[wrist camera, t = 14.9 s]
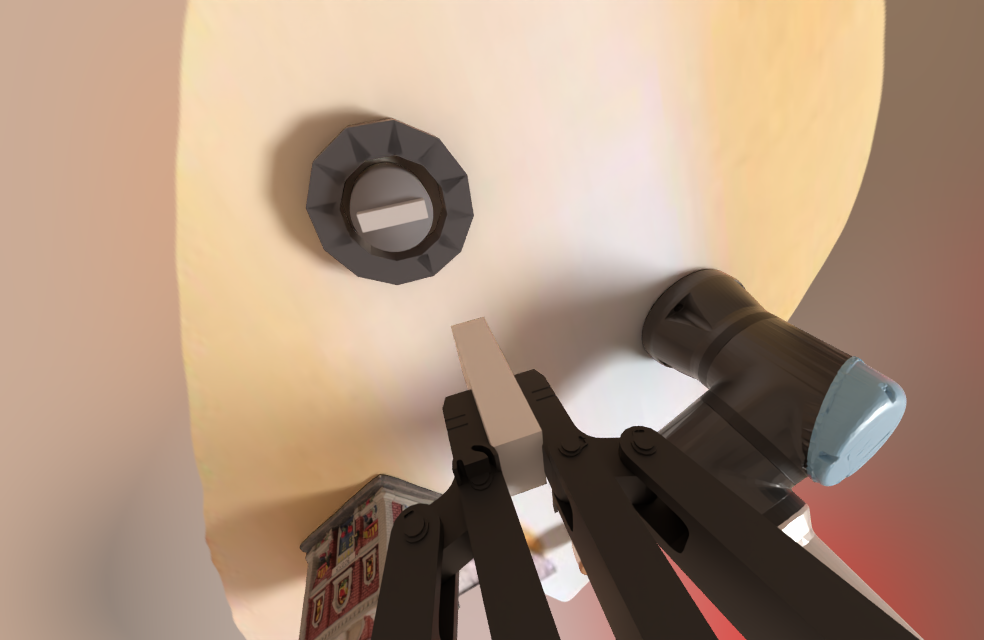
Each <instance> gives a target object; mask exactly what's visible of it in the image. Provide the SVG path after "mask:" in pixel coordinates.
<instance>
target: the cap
mask: <svg viewBox="0 0 984 640" xmlns="http://www.w3.org/2000/svg"><path fill="white" fill-rule="evenodd" d="M350 216H351V220H352V223H353V225H354V228H355V229H356V231H357V233H358V234H359V235H360V236H361V237H362V238H363V239H364V240H365V241H366V242H367V243H369V244H370V245H372V246H373V247H375V248H378V249H380V250H384V251H389V252H400V251H405V250H408V249H411V248H413V247H415V246H416V245H418V244H419V243H420V242H421V241H422V240H423V239H424V238H425V237H426V236H427V234H428V232H429V231H430V228H431V226H432V222H433V206H432V202H431V199H430V197H429V195H428V193H427V191H426V190H425V188H424V187H423V185H422V183H421V182H420V180H419V179H418V178H417V176H416V175H415V174H414V173H413V172H411V171H410V170H409V169H407V168H405V167H403V166H401V165H399V164H395V163H389V162H383V163H377V164H374V165H371V166H369V167H368V168H366V169H365V170H363V171H362V172H361V173H360V174H359V176H358V177H357V179H356V180H355V183H354V185H353V189H352V194H351V200H350Z"/></svg>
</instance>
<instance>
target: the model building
mask: <svg viewBox="0 0 984 640" xmlns="http://www.w3.org/2000/svg"><path fill="white" fill-rule="evenodd" d="M441 496H442V494H439V493H436V492H433V491H431V490H428V489H425V488H422V487H419V486H416V485H414V484H411V483H408V482H406V481H403V480H400V479H397V478H394V477H390V476H386V475H379V476H378V477H376V478H374V479H373V480H372V481H371V482H369V483H368V484H367V485H366V486H365V487H364V488H362V489H361V490H360V491H359V492H358V493H357V494H356V495H354V496H353V497H352V498H351V499H350V500H349V501H347V502H346V503H345V504H344V505H343V506H342V507H341V508H340V509H339V510H338V511H337V512H336V513H335V514H334V515H333V516H332V517H330V518H329V519H328V520H327V521H326V522H324V523H323V524H322V525H321V526H320V527H319V528H318V529H317V530H316V531H315V532H313V533H312V534H311V535H310V536H309V537H308V538H307V539H306V540H305V541H304V542H303V543H302V544H301V546H300V549H301V550H302V551H303V552H306V553H307V554H306V561H307V563H308V569H307V577H306V589H305V595H304V602H303V610H302V618H301V626H300V635H299V640H371V635H372V630H373V624H374V619H375V614H376V608H377V603H378V598H379V592H380V587H381V582H382V576H383V571H384V566H385V560H386V555H387V550H388V544H389V539H390V534H391V530H392V527H393V524H394V521H395V520H396V518H397V517H398V516H399V514H400V513H401V512H402V511H403V510H405V509H406V508H408V507H409V506H411V505H415V504H418V503H423V504H428V505H430V504H431V503H432V502H434V501H435V500H437V499H438V498H439V497H441ZM459 608H460V606H459V601H458V609H459Z"/></svg>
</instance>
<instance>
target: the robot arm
mask: <svg viewBox="0 0 984 640" xmlns="http://www.w3.org/2000/svg"><path fill="white" fill-rule="evenodd" d="M451 328H452V332H453V336H454V340H455V344H456V348H457V352H458V356H459V360H460V364H461V368H462V372H463V375H464V378H465V381H466V384H467V387H468V390H467V391H464V392H461V393H458V394H454V395H451V396H448V397H446V398H445V401H444V405H443V414H444V418H445V422H446V427H447V431H448V436H449V441H450V446H451V450H452V455H453V461H452V470H453V473H454V476H455V477H454V480H453V482H452V485H451V486H450V487H449V489H448V490H447V491H446V492H445V493H444V494H443V495H442V496H441V497H439V498H438V499H437V500H435V501H434V502H432V503H431V504H430V505H428V504H423V503H418V504H415V505H411V506H409V507H408V508H406V509H405V510H403V511H402V512H401V513H400V514H399V516H398V517H397V518H396V520H395V521H394V524H393V527H392V530H391V534H390V539H389V544H388V550H387V555H386V560H385V566H384V571H383V576H382V582H381V587H380V592H379V598H378V603H377V608H376V614H375V619H374V624H373V630H372V635H371V640H457V624H458V593H459V570H460V569H461V568H462V567H464V566H465V565H466V564H467V563H468V562H469V561H471V560H472V559H473V558H474V561H475V566H476V570H477V575H478V579H479V584H480V588H481V593H482V597H483V602H484V607H485V611H486V615H487V620H488V625H489V629H490V634H491V638H492V640H561V639H560V637H559V634H558V631H557V628H556V625H555V622H554V619H553V616H552V614H551V611H550V608H549V605H548V602H547V599H546V596H545V593H544V591H543V588H542V585H541V582H540V579H539V576H538V573H537V571H536V568H535V565H534V562H533V559H532V556H531V553H530V550H529V548H528V545H527V542H526V539H525V536H524V533H523V530H522V527H521V525H520V522H519V519H518V516H517V513H516V510H515V507H514V505H513V502H512V499H511V496H514V495H517V494H519V493H522V492H525V491H528V490H530V489H533V488H536V487H539V486H541V485H544V484H547V481H546V477H547V479H548V481H549V483H550V486H551V488H552V497H553V507H554V511H555V513H556V512H558V511H559V513H560V515H561V518H562V520H563V522H564V524H565V526H566V529H567V531H568V533H569V535H570V538H571V540H572V542H573V544H574V547H575V549H576V551H577V553H578V555H579V558H580V560H581V562H582V564H583V567H584V569H585V571H586V573H587V576H588V578H589V580H590V582H591V585H592V587H593V589H594V591H595V593H596V596H597V598H598V600H599V602H600V604H601V607H602V609H603V611H604V614H605V616H606V618H607V620H608V622H609V625H610V627H611V629H612V631H613V634H614V636H615V638H616V640H718V638H717V637H716V635H715V634H714V632H713V630H712V629H711V627H710V626H709V624H708V623H707V621H706V619H705V618H704V616H703V615H702V613H701V612H700V610H699V608H698V607H697V605H696V604H695V602H694V601H693V599H692V598H691V596H690V594H689V593H688V592H687V590H686V588H685V587H684V585H683V583H682V582H681V580H680V579H679V577H678V576H677V574H676V572H675V571H674V569H673V568H672V566H671V565H670V563H669V561H668V560H667V559H666V557H665V555H664V554H663V552H662V551H661V549H660V547H661V548H662V549H663V550H664V551H665V552H666V553H667V554H668V555H669V556H670V557H671V559H672V560H673V561H674V562H675V563H676V564H677V565H678V566H679V567H680V568H681V570H682V571H683V572H684V573H685V574H686V575H687V576H688V577H689V578H690V579H691V580H692V581H693V582H694V583H695V585H696V586H697V587H698V588H699V589H700V590H701V591H702V592H703V593H704V594H705V595H706V597H707V598H708V599H709V600H710V601H711V602H712V603H713V604H714V605H715V606H716V607H717V608H718V609H719V611H720V612H721V613H722V614H723V615H724V616H725V617H726V618H727V619H728V620H729V621H730V622H731V623H732V625H733V626H734V627H735V628H736V629H737V630H738V631H739V632H740V633H741V634H742V635H743V636H744V637H745V639H747V640H924V639H923V638H922V637H920V635H918V634H917V633H916V632H915V631H914V630H913V629H912V628H911V627H910V626H909V625H908V624H907V623H906V622H905V621H904V620H903V619H902V618H901V617H900V616H899V615H898V614H897V613H896V612H895V611H894V610H893V609H892V608H891V607H890V606H889V605H887V604H886V603H885V602H884V601H883V600H882V599H881V598H880V597H879V596H878V595H877V594H876V593H875V592H874V591H873V590H872V589H871V588H870V587H869V586H868V585H867V584H866V583H865V582H864V581H863V580H862V579H861V578H860V577H859V576H858V575H857V574H856V573H855V572H853V571H852V570H851V569H850V568H849V567H848V566H847V565H846V564H845V563H844V562H843V561H842V560H841V559H840V558H839V557H838V556H837V555H836V554H835V553H834V552H833V551H832V550H831V549H830V548H829V547H828V546H827V545H825V543H824V542H823V541H821V540H820V539H819V538H818V537H817V536H816V534H815V533H814V531H813V529H812V526H811V519H810V510H809V506H808V505H807V504H806V503H805V502H804V501H803V500H802V499H800V498H799V497H798V496H797V495H796V494H795V493H794V492H793V491H792V489H791V488H792V487H794V486H795V485H796V484H797V483H799V482H800V481H801V480H803V479H804V478H806V477H808V476H809V477H810V479H812V480H813V481H814V482H818V483H820V484H821V485H824V486H832V485H835V484H838V483H840V481H842V480H843V479H844V478H845V477H849V476H850V475H852V474H853V473H854V472H856V471H857V470H858V469H859V468H860V467H861V466H863V465H864V464H865V463H866V462H867V461H868V460H869V459H870V458H871V457H872V456H873V455H874V454H875V453H876V452H877V451H878V450H879V449H880V447H881V446H882V445H883V444H884V443H885V442H886V440H887V439H888V438H889V437H890V435H891V434H892V433H893V431H894V430H895V428H896V427H897V425H898V424H899V422H900V420H901V418H902V416H903V413H904V411H905V407H906V396H905V393H904V391H903V389H902V388H901V387H900V386H899V385H898V384H897V383H896V382H894V381H893V380H891V379H890V378H888V377H886V376H885V375H883V374H881V373H879V372H878V371H876V370H874V369H873V368H871V367H869V366H868V365H866V364H864V362H863V361H862V360H861V359H859V358H858V357H855V356H853V357H852V356H850V355H849V354H847V353H844V352H843V351H841V350H839V349H837V348H835V347H833V346H832V345H830V344H827V343H826V342H824V341H822V340H820V339H818V338H816V337H814V336H813V335H811V334H809V333H807V332H805V331H803V330H801V329H799V328H797V327H795V326H794V325H792V324H790V323H788V322H786V321H784V320H782V319H781V318H779V317H777V316H775V315H773V314H771V313H769V312H768V311H766V310H765V309H764V308H763V307H762V306H761V305H760V304H759V303H758V302H757V301H756V300H755V299H754V298H753V297H752V296H751V295H750V294H749V293H748V292H747V291H746V290H745V288H744V286H743V285H742V284H741V283H740V282H739V281H738V280H737V279H735V278H734V277H732V276H730V275H728V274H726V273H724V272H722V271H719V270H714V269H708V270H701V271H698V272H695V273H692V274H690V275H688V276H686V277H684V278H682V279H681V280H679V281H678V282H676V283H675V284H674V285H672V286H671V287H670V288H669V289H668V290H667V291H666V292H665V293H664V294H663V295H662V296H661V297H660V298H659V299H658V300H657V302H656V303H655V304H654V306H653V307H652V309H651V311H650V312H649V314H648V316H647V318H646V321H645V324H644V327H643V332H642V342H643V346H644V348H645V350H646V351H647V352H648V353H649V354H650V355H651V356H652V357H653V358H654V359H655V360H656V361H657V362H659V363H660V364H662V365H664V366H666V367H670V368H674V369H675V370H677V371H679V372H681V373H683V374H685V375H688V376H690V377H692V378H694V379H697V380H698V381H700V382H701V383H702V384H703V385H704V386H706V387H707V388H708V389H709V390H708V391H707V392H706V393H704V394H703V395H702V396H701V397H699V398H698V399H697V400H696V401H695V402H693V403H692V404H691V405H690V406H689V407H688V408H686V409H685V410H684V411H683V412H682V413H680V414H679V415H678V416H677V417H675V418H674V419H673V420H672V421H671V422H669V423H668V424H667V425H666V426H664V427H663V428H662V429H661V430H660V431H658V432H656V431H654V430H653V429H651V428H647V427H643V426H633V427H630V428H628V429H626V430H625V431H624V432H623V433H622V434H621V437H620V438H595V437H591V436H588V435H586V434H585V433H583V432H581V431H580V430H579V429H578V428H577V427H576V426H575V425H574V423H573V422H572V420H571V419H570V417H569V415H568V414H567V412H566V410H565V409H564V407H563V406H562V404H561V402H560V401H559V399H558V398H557V396H556V395H555V393H554V391H553V390H552V388H551V387H550V385H549V383H548V382H547V380H546V378H545V377H544V376H543V375H542V374H540V373H539V372H537V371H536V370H534V369H533V370H530V371H526V372H523V373H520V374H517V375H513V373H512V371H511V369H510V367H509V365H508V363H507V361H506V359H505V357H504V355H503V354H502V352H501V350H500V348H499V346H498V344H497V342H496V340H495V338H494V336H493V334H492V332H491V330H490V328H489V326H488V324H487V322H486V320H485V318H484V317H482V318H478V319H474V320H471V321H467V322H464V323H460V324H456V325H453V326H451ZM658 545H659V546H660V547H659V546H658Z"/></svg>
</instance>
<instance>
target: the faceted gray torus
mask: <svg viewBox="0 0 984 640" xmlns="http://www.w3.org/2000/svg"><path fill="white" fill-rule="evenodd" d="M393 155H396V156H399V157H401V158H404V159H407V160H409V161H412V162H414V163H417V164H420V165H422V166H424V167H425V169H426V170H427V171H428V172H429V173H430V174H431V176H432V177H433V178H434V179H435V180H436V182H437V184H438V189H439V193H440V198H441V203H442V210H441V213H440V216H439V220H438V223H437V226H436V229H435V231H434V232H433V233H431V234H430V235H429V236H428V237H427V238H426V239H425V240H424V241H423V242H422V243H421V244H419V245H418V246H415V247H413V248H411V249H408V250H405V251H400V252H389V251H384V250H380V249H378V248H375V247H373V246H372V245H370V244H369V243H367V242H366V241H365V240H364V239H363V238H362V237H361V236H360V235H359V234H358V233H357V232H355V231H354V230H353V229H352V228H351V227H350V224H349V221H348V219H347V216H346V213H345V211H344V208H343V205H342V203H341V200H342V195H343V190H344V185H345V180H346V179H347V178H348V177H349V176H350V175H351V174H352V173H353V172H354V171H355V170H356V169H357V168H358V167H359V166H360V165H361V164H362V163H363V162H364V161H366V160H372V159H377V158H382V157H387V156H393ZM306 209H307V212H308V214H309V216H310V219H311V221H312V223H313V225H314V228H315V230H316V232H317V235H318V237H319V239H320V241H321V244H322V246H323V248H324V250H325V251H326V252H328V253H329V254H330V255H331V256H333V257H334V258H335V259H336V260H338V261H339V262H340V263H341V264H343V265H344V266H345V267H347V268H348V269H349V270H350V271H352V272H353V273H354V274H355V275H357V276H358V277H362V278H367V279H371V280H376V281H381V282H385V283H390V284H395V285H400V284H404V283H408V282H412V281H415V280H419V279H423V278H427V277H431V276H434V275H435V274H436V273H438V272H439V271H440V270H441V269H442V268H443V267H444V266H445V265H446V264H448V263H449V262H450V261H451V260H452V259H453V258H454V257H455V256H457V255H458V254H459V253H460V252H461V250H462V247H463V245H464V242H465V239H466V236H467V233H468V230H469V228H470V225H471V222H472V219H473V216H474V214H473V208H472V202H471V196H470V189H469V183H468V177H467V174H466V173H465V171H464V170H463V169H462V168H461V166H460V165H459V164H458V162H457V161H456V160H455V158H454V157H453V156H452V155H451V153H450V152H449V151H448V149H447V148H446V147H445V146H444V144H443V143H442V142H441V140H440V139H439V138H437V137H436V136H434V135H431V134H429V133H427V132H424V131H422V130H419V129H417V128H415V127H412V126H410V125H407V124H405V123H403V122H400V121H398V120H396V119H393V118H390V119H384V120H378V121H372V122H366V123H360V124H354V125H349V126H347V127H346V128H345V129H344V130H343V131H342V132H341V133H340V134H339V135H338V136H337V137H336V138H335V139H334V140H333V141H332V142H331V143H330V144H329V145H328V146H327V147H326V148H325V149H324V150H323V151H322V152H321V153H320V154H319V155H318V156H317V157H316V159H315V160H314V161H313V163H312V170H311V177H310V184H309V191H308V197H307V204H306Z"/></svg>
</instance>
